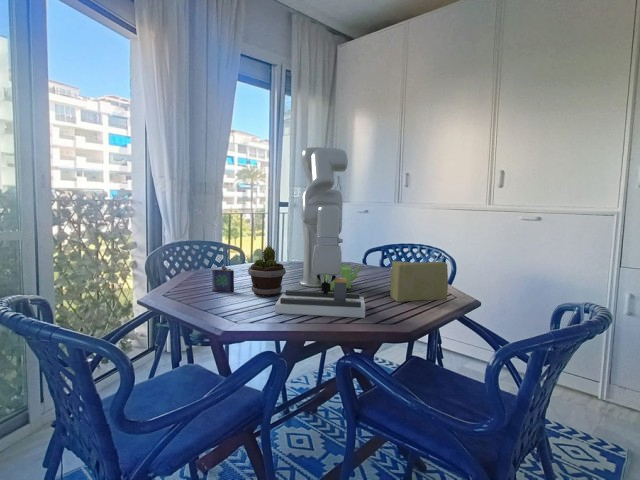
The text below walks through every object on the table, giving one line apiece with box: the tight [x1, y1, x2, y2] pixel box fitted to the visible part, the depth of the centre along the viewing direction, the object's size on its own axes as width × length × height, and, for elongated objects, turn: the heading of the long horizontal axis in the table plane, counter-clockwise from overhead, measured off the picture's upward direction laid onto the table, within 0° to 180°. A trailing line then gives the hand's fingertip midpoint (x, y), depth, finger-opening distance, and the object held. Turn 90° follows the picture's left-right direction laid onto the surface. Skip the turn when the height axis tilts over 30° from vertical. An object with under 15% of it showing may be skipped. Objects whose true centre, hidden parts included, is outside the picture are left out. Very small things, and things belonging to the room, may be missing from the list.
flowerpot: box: [247, 244, 287, 298], centre depth 153 cm, size 14×15×20 cm
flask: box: [211, 264, 235, 293], centre depth 155 cm, size 9×3×11 cm, turn 79°
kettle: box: [324, 264, 364, 292], centre depth 165 cm, size 15×14×11 cm
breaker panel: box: [274, 289, 366, 319], centre depth 135 cm, size 15×30×5 cm, turn 86°
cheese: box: [389, 260, 449, 303], centre depth 152 cm, size 22×10×15 cm, turn 97°
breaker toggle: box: [333, 278, 347, 301], centre depth 134 cm, size 5×4×8 cm
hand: (325, 293), depth 135 cm, fingers closed
